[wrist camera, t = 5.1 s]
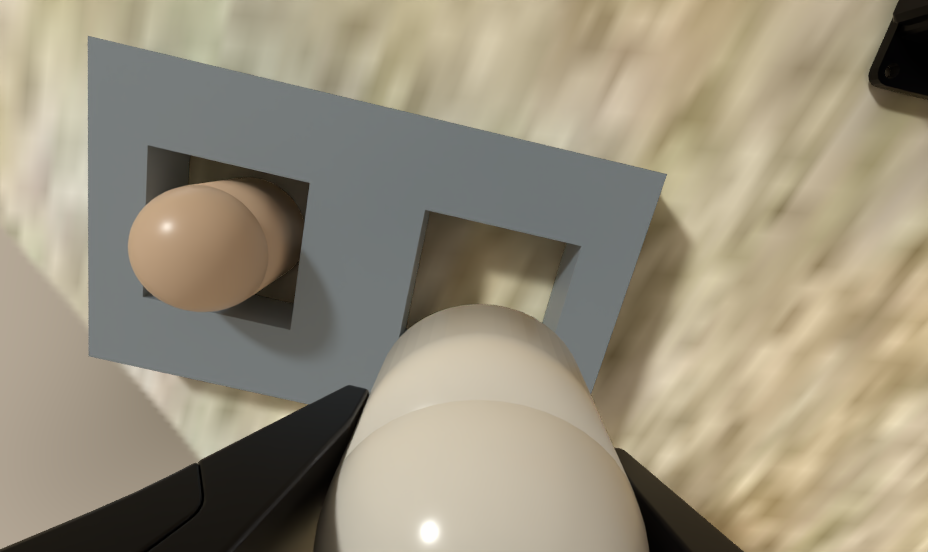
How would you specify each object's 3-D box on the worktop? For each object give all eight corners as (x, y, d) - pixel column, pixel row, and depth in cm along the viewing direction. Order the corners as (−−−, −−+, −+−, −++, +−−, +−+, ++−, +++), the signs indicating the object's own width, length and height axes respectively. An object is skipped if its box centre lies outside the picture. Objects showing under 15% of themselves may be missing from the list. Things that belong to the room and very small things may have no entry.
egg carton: (642, 170, 18) (713, 182, 13) (558, 425, 22) (584, 523, 16) (140, 50, 18) (-15, 8, 12) (133, 331, 21) (8, 399, 16)
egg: (612, 333, 9) (812, 615, 4) (548, 507, 11) (627, 915, 5) (399, 281, 9) (275, 494, 4) (359, 463, 10) (220, 833, 5)
